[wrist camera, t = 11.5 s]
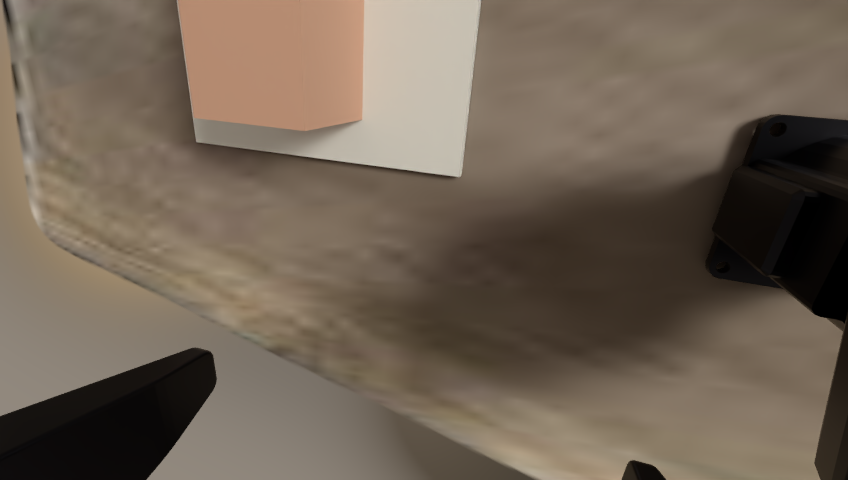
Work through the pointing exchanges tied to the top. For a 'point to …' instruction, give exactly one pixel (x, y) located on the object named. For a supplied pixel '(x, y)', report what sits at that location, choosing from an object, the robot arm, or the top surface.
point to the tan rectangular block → (275, 61)
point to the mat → (390, 94)
